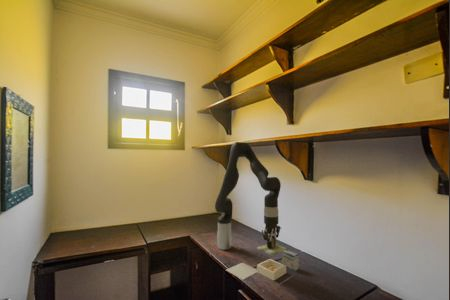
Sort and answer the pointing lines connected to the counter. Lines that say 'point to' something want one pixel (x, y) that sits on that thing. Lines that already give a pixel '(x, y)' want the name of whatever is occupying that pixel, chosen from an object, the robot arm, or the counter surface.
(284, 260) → the medicine box
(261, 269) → the cream square tray
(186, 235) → the counter surface
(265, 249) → the lid
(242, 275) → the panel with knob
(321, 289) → the counter surface
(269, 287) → the counter surface
